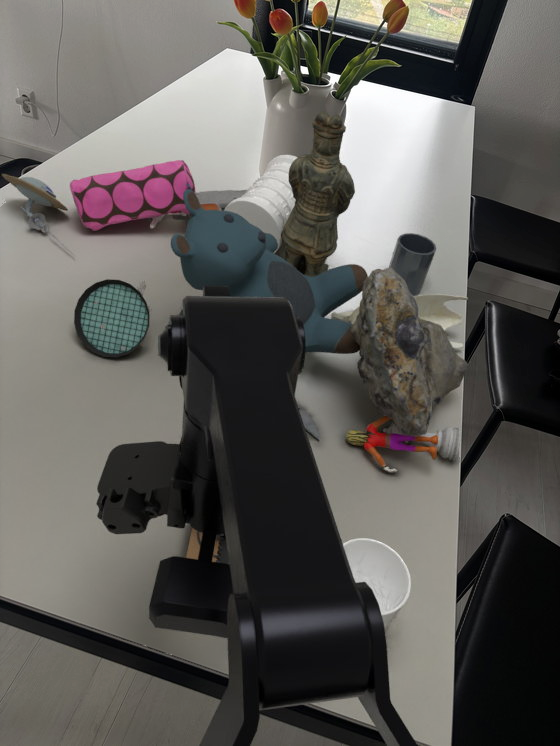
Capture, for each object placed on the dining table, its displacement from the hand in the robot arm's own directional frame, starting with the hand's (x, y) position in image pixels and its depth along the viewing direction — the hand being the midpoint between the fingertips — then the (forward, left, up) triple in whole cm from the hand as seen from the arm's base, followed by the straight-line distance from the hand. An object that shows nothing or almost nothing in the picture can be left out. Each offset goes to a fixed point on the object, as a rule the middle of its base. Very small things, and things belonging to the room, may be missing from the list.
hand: (207, 562), depth 53 cm
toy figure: (+27, -21, -12) cm, 37 cm away
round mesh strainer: (+40, +20, -8) cm, 46 cm away
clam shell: (+56, -22, -5) cm, 60 cm away
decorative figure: (+79, +37, -13) cm, 88 cm away
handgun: (+74, +2, -11) cm, 75 cm away
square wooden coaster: (+11, -1, -13) cm, 17 cm away
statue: (+65, -8, -13) cm, 67 cm away
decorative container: (+68, +3, -7) cm, 68 cm away
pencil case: (+75, +26, -3) cm, 79 cm away
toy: (+64, +40, -13) cm, 77 cm away
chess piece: (+28, -30, -11) cm, 43 cm away
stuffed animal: (+46, -10, -9) cm, 48 cm away
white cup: (+3, -15, -13) cm, 20 cm away
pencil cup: (+68, -26, -13) cm, 74 cm away
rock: (+35, -15, -5) cm, 38 cm away
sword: (+38, -4, -13) cm, 40 cm away
